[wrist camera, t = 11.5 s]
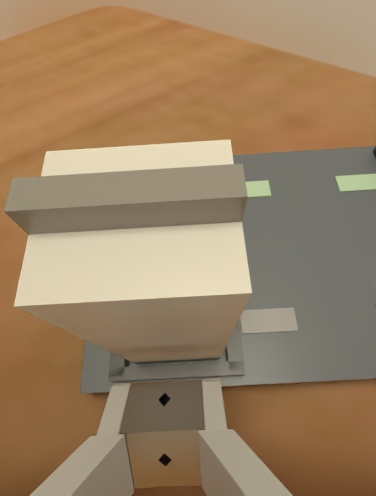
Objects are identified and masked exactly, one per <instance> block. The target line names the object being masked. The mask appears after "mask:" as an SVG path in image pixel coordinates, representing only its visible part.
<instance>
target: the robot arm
mask: <svg viewBox="0 0 376 496" xmlns="http://www.w3.org/2000/svg"><path fill="white" fill-rule="evenodd" d="M202 397H203V398H202ZM164 486H202V489H203V490H204V492H205V494H206V496H293V495H292V494H291V493H290V492H289V491H288V490H287V489H286V487H285V486H284V485H283V484H282V483H281V482H280V481H279V480H278V478H277V477H276V476H275V475H274V474H273V473H272V472H271V471H270V470H269V468H268V467H267V466H266V465H265V464H264V463H263V462H262V461H261V460H260V458H259V457H258V456H257V455H256V454H255V453H254V452H253V451H252V449H251V448H250V447H249V446H248V445H247V444H246V443H245V442H244V441H243V439H242V438H241V437H240V436H239V435H238V434H237V433H236V432H235V431H234V429H227V422H226V415H225V408H224V401H223V394H222V387H221V380H220V379H219V378H213V379H202V382H201V380H185V381H168V382H134V383H114V384H113V386H112V387H111V389H110V393H109V396H108V399H107V402H106V405H105V408H104V412H103V415H102V418H101V421H100V424H99V428H98V431H97V434H96V436H90V437H89V438H88V439H87V440H86V441H85V442H84V443H82V444H81V445H80V446H79V447H78V448H77V449H76V450H75V451H74V452H73V453H72V454H71V455H70V456H69V457H68V458H67V459H66V460H65V461H64V462H63V463H62V464H61V465H60V466H59V467H58V468H57V469H56V470H55V471H54V472H53V473H52V474H51V475H50V476H49V477H48V478H47V479H46V480H45V481H44V482H43V483H42V484H41V485H40V486H39V487H38V488H37V489H36V490H35V491H34V492H33V493H32V494H31V495H29V496H132V494H133V493H134V489H138V488H151V487H164Z"/></svg>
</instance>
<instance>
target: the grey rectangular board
mask: <svg viewBox="0 0 376 496" xmlns="http://www.w3.org/2000/svg"><path fill="white" fill-rule="evenodd" d="M233 162H234V164H243V169H244V176H245V182H246V188H247V195H248V198H247V202H246V206H245V211H244V215H243V220H242V226H243V233H244V240H245V247H246V254H247V261H248V268H249V275H250V282H251V289H252V294H251V296H250V298H249V300H248V302H247V305H246V307H245V309H244V311H243V313H242V315H241V317H240V319H239V321H238V323H237V325H236V327H235V329H234V331H233V333H232V335H231V337H230V339H229V341H228V343H227V346H226V348H225V350H224V352H223V354H222V356H221V358H220V359H216V360H196V361H177V362H158V363H138V364H135V363H133V362H130V361H128V360H126V359H124V358H122V357H120V356H118V355H116V354H114V353H111V352H109V351H107V350H105V349H103V348H101V347H99V346H97V345H95V344H92V343H90V342H88V341H86V340H85V348H84V358H83V368H82V378H81V388H80V393H110V389H111V387H112V386H113V384H114V383H134V382H168V381H185V380H201V382H202V379H213V378H219V379H220V380H221V387H231V386H251V385H270V384H290V383H310V382H330V381H350V380H370V379H376V146H371V147H356V148H340V149H325V150H309V151H293V152H278V153H262V154H246V155H233Z"/></svg>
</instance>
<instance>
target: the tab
mask: <svg viewBox="0 0 376 496" xmlns="http://www.w3.org/2000/svg"><path fill="white" fill-rule="evenodd" d="M247 198H248V195H247V188H246V182H245V176H244V169H243V164H234V162H233V155H232V148H231V141H230V140H216V141H200V142H185V143H169V144H154V145H139V146H123V147H108V148H92V149H77V150H62V151H46V155H45V160H44V165H43V169H42V174H41V176H39V177H23V178H12V182H11V186H10V190H9V194H8V197H7V201H6V205H5V209H4V212H5V213H6V214H7V215H8V216H9V217H10V218H11V219H12V220H14V221H15V222H16V223H17V224H18V225H19V226H20V227H21V228H22V229H23V230H24V231H25V232H26V233H28V234H29V236H28V241H27V246H26V250H25V255H24V260H23V265H22V269H21V274H20V279H19V284H18V288H17V293H16V298H15V303H14V307H16V308H18V309H20V310H23V311H25V312H27V313H29V314H31V315H33V316H35V317H37V318H40V319H42V320H44V321H46V322H48V323H50V324H52V325H54V326H56V327H59V328H61V329H63V330H65V331H67V332H69V333H71V334H73V335H75V336H78V337H80V338H82V339H84V340H86V341H88V342H90V343H92V344H95V345H97V346H99V347H101V348H103V349H105V350H107V351H109V352H111V353H114V354H116V355H118V356H120V357H122V358H124V359H126V360H128V361H130V362H133V363H135V364H138V363H158V362H177V361H196V360H216V359H220V358H221V356H222V354H223V352H224V350H225V348H226V346H227V343H228V341H229V339H230V337H231V335H232V333H233V331H234V329H235V327H236V325H237V323H238V321H239V319H240V317H241V315H242V313H243V311H244V309H245V307H246V305H247V302H248V300H249V298H250V296H251V294H252V289H251V282H250V275H249V268H248V261H247V254H246V247H245V240H244V233H243V226H242V220H243V215H244V211H245V206H246V202H247Z"/></svg>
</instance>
